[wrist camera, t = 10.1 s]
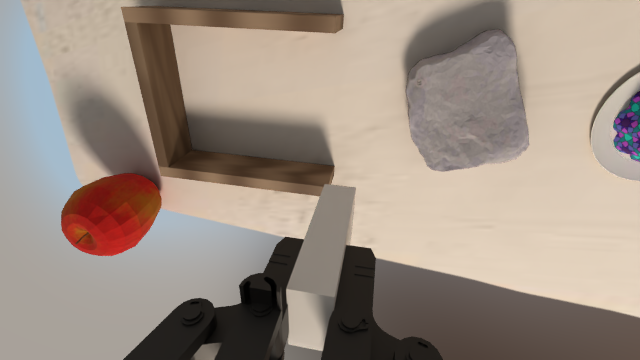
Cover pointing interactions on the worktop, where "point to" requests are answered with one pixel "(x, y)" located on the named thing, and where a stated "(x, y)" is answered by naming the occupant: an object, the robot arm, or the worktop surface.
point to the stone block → (468, 105)
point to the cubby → (168, 106)
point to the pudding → (619, 132)
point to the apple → (110, 214)
